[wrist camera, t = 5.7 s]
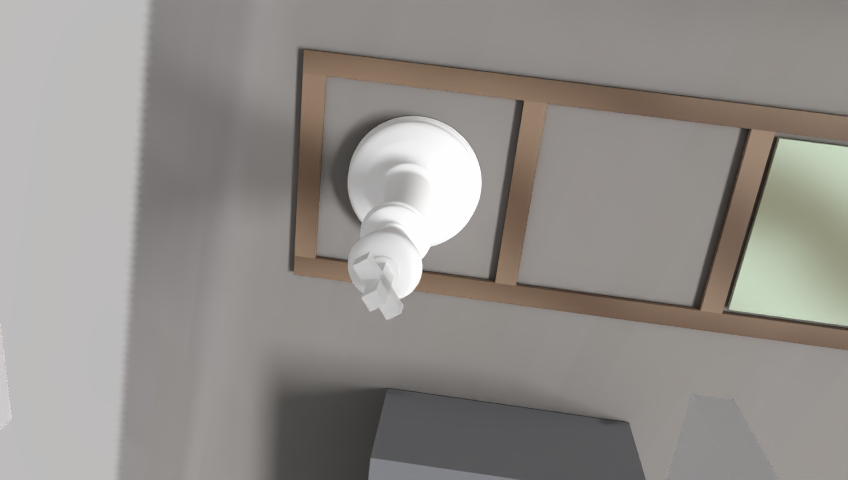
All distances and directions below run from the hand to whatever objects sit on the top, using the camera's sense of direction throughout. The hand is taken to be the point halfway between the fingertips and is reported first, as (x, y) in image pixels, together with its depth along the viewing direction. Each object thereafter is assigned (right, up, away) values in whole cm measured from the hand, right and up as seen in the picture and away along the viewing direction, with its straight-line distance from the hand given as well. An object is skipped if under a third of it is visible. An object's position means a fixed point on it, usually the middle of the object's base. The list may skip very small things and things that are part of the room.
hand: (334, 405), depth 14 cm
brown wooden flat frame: (+9, +4, +13) cm, 16 cm away
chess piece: (+1, +5, +13) cm, 14 cm away
